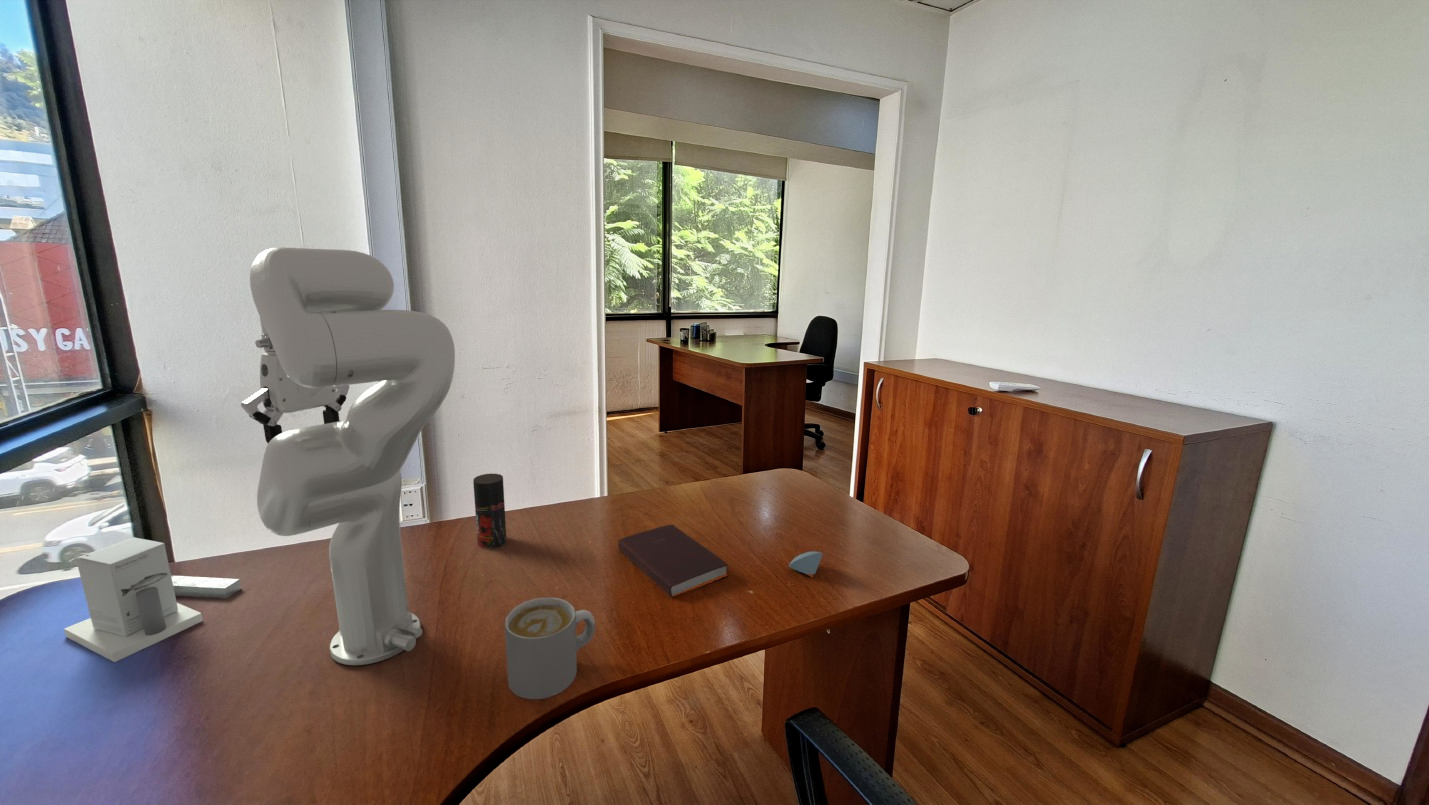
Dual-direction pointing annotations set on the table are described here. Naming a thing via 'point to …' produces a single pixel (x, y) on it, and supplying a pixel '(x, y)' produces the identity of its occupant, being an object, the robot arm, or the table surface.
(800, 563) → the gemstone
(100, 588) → the supplement box
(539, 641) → the coffee mug
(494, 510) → the deodorant
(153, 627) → the cradle
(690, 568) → the book
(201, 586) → the bar
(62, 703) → the table surface
